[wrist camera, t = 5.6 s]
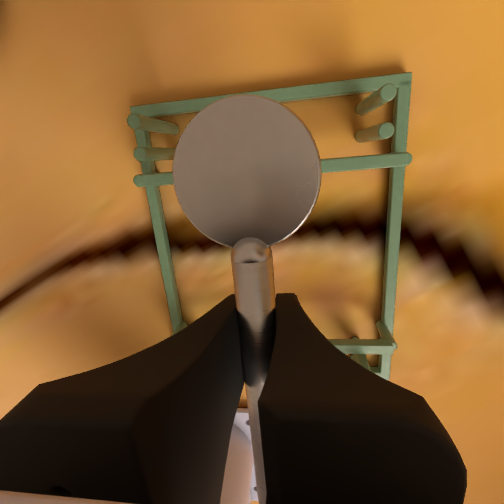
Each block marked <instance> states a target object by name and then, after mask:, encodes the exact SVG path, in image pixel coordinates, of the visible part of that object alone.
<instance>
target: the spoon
mask: <svg viewBox="0 0 504 504" xmlns="http://www.w3.org/2000/svg"><path fill="white" fill-rule="evenodd" d="M173 183H174V188H175V192H176V196H177V198H178V201H179V204H180V206H181V208H182V210H183V211H184V213H185V215H186V216H187V218H188V219H189V220H190V222H191V223H192V224H193V225H194V226H195V227H196V228H197V229H198V230H199V231H200V232H201V233H203V234H204V235H205V236H207V237H208V238H210V239H211V240H213V241H215V242H217V243H219V244H222V245H224V246H227V247H231V248H233V249H232V252H231V262H232V271H233V280H234V289H235V298H236V307H237V316H238V325H239V334H240V343H241V352H242V361H243V370H244V379H245V387H246V396H247V405H248V414H249V423H250V432H251V441H252V450H253V459H254V468H255V477H256V486H257V495H258V501H259V504H266V494H267V492H266V482H265V472H264V462H263V453H262V443H261V433H260V423H259V413H258V403H257V401H258V399H259V397H260V394H261V391H262V389H263V386H264V383H265V380H266V377H267V373H268V370H269V366H270V362H271V358H272V353H273V348H274V343H275V337H276V310H275V306H276V303H275V288H274V272H273V257H272V250H271V248H270V246H272V245H275V244H277V243H279V242H281V241H283V240H285V239H287V238H288V237H289V236H291V235H292V234H294V233H295V232H296V231H297V230H298V229H299V228H300V227H301V226H302V225H303V223H304V222H305V221H306V220H307V218H308V217H309V215H310V214H311V212H312V210H313V208H314V206H315V204H316V201H317V198H318V195H319V191H320V185H321V161H320V156H319V151H318V149H317V146H316V143H315V140H314V139H313V137H312V135H311V133H310V131H309V130H308V128H307V127H306V125H305V124H304V122H303V121H302V120H301V119H300V118H299V117H298V116H297V115H296V114H295V113H294V112H292V111H291V110H290V109H289V108H287V107H286V106H284V105H282V104H281V103H279V102H277V101H274V100H272V99H270V98H266V97H262V96H258V95H249V94H246V95H234V96H229V97H225V98H223V99H220V100H217V101H215V102H213V103H211V104H209V105H208V106H206V107H205V108H204V109H202V110H201V111H200V112H198V113H197V114H196V115H195V116H194V117H193V118H192V120H191V121H190V122H189V123H188V125H187V126H186V127H185V129H184V131H183V133H182V134H181V136H180V139H179V141H178V143H177V146H176V150H175V154H174V160H173Z"/></svg>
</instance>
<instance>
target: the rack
mask: <svg viewBox="0 0 504 504" xmlns="http://www.w3.org/2000/svg"><path fill="white" fill-rule="evenodd" d="M411 80H412V72H407V73H399V74H391V75H383V76H374V77H366V78H358V79H350V80H342V81H334V82H326V83H318V84H309V85H301V86H293V87H285V88H277V89H269V90H261V91H253V92H244V93H236V94H228V95H220V96H212V97H204V98H196V99H187V100H179V101H171V102H163V103H155V104H147V105H139V106H131V107H130V110H131V114H130V115H129V116H128V118H127V123H128V125H129V126H130V127H131V128H132V129H134V131H135V136H136V141H137V146H138V147H137V148H136V149H135V150H134V157H135V158H136V159H137V160H138V161H140V162H141V167H142V172H143V174H140V175H136V176H135V177H134V179H133V181H134V184H135V185H136V186H137V187H145V188H146V193H147V198H148V203H149V208H150V214H151V219H152V224H153V229H154V234H155V239H156V245H157V250H158V255H159V260H160V265H161V270H162V276H163V281H164V286H165V291H166V296H167V302H168V307H169V312H170V317H171V322H172V327H173V334H172V335H174V334H176V333H178V332H179V331H181V330H182V329H184V328H185V327H187V326H188V324H187V322H185V321H183V319H182V314H181V308H180V303H179V297H178V291H177V286H176V280H175V275H174V269H173V264H172V258H171V252H170V247H169V241H168V236H167V230H166V224H165V219H164V213H163V208H162V202H161V197H160V191H159V185H172V184H174V183H173V172H164V173H158V172H156V169H155V163H154V161H158V160H174V154H175V150H176V148H159V147H152V146H151V141H150V135H149V131H150V132H157V133H164V134H171V135H176V134H178V133H179V127H178V125H177V124H175V123H171V122H167V121H163V120H159V119H154V117H163V116H172V115H180V114H189V113H198V112H200V111H201V110H202V109H204V108H205V107H206V106H208V105H209V104H211V103H213V102H215V101H217V100H220V99H223V98H225V97H229V96H234V95H246V94H249V95H258V96H262V97H266V98H270V99H272V100H274V101H277V102H279V103H284V102H293V101H302V100H310V99H319V98H328V97H336V96H345V95H354V94H362V93H371V92H374V93H373V94H371V95H370V96H369V97H367V98H366V99H365V100H363V101H362V102H360V103H359V104H358V105H357V107H356V113H357V114H358V115H365V114H366V113H368V112H370V111H372V110H374V109H376V108H378V107H379V106H381V105H383V104H385V103H387V102H389V101H391V100H392V99H393V98H394V106H393V123H390V122H384V123H381V124H378V125H375V126H372V127H369V128H366V129H363V130H360V131H358V132H357V133H356V135H355V139H356V141H357V142H359V143H362V142H369V141H376V140H383V139H388V138H390V137H391V136H392V140H391V152H389V153H387V154H377V155H365V156H353V157H341V158H330V159H320V161H321V173H327V172H340V171H352V170H365V169H378V168H390V175H389V192H388V209H387V226H386V243H385V260H384V277H383V295H382V312H381V321H378V322H377V323H376V328H377V330H378V332H379V334H380V339H359V338H358V337H353V338H352V339H328V340H329V341H330V342H331V343H332V344H333V345H334V346H335V347H336V348H337V349H339V350H340V351H341V352H343V353H344V354H352V355H351V356H350V358H351V359H352V360H354V361H355V362H357V363H358V364H360V365H361V366H363V367H365V368H366V369H368V370H370V371H371V372H373V373H375V374H377V375H378V376H380V377H382V378H384V379H386V380H389V379H390V365H391V355H392V354H393V351H394V350H396V348H397V344H396V342H395V340H394V338H393V324H394V311H395V297H396V284H397V270H398V256H399V243H400V229H401V216H402V202H403V189H404V175H405V166H407V165H409V164H410V163H411V161H412V155H411V154H410V153H408V152H406V148H407V134H408V121H409V107H410V94H411ZM172 335H171V336H172ZM365 354H379V363H378V367H369V364H368V361H367V358H366V355H365Z"/></svg>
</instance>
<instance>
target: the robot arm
mask: <svg viewBox="0 0 504 504" xmlns="http://www.w3.org/2000/svg"><path fill="white" fill-rule="evenodd" d="M275 303H276V306H275V310H276V337H275V343H274V348H273V353H272V358H271V362H270V366H269V370H268V373H267V377H266V380H265V383H264V386H263V389H262V391H261V394H260V397H259V399H258V401H257V403H258V413H259V423H260V433H261V443H262V453H263V462H264V472H265V482H266V492H267V494H266V504H463V502H464V497H465V492H466V487H467V470H466V467H465V465H464V463H463V460H462V458H461V456H460V453H459V452H458V450H457V448H456V446H455V444H454V443H453V441H452V439H451V437H450V435H449V434H448V432H447V431H446V429H445V428H444V426H443V425H442V423H441V422H440V420H439V419H438V417H437V416H436V415H435V413H434V412H433V411H432V409H431V408H430V406H429V405H428V404H427V402H426V401H425V399H424V398H423V397H422V396H420V395H418V394H416V393H414V392H411V391H409V390H407V389H405V388H403V387H401V386H398V385H396V384H394V383H392V382H390V381H388V380H386V379H384V378H382V377H380V376H378V375H377V374H375V373H373V372H371V371H370V370H368V369H366V368H365V367H363V366H361V365H360V364H358V363H357V362H355V361H354V360H352V359H351V358H350V357H348V356H347V355H345V354H344V353H343V352H341V351H340V350H339V349H337V348H336V347H335V346H334V345H333V344H332V343H331V342H330V341H329V340H328V339H327V338H326V337H325V336H324V335H323V334H322V333H321V332H320V331H319V330H318V329H317V327H316V326H315V325H314V324H313V323H312V321H311V320H310V319H309V317H308V316H307V314H306V313H305V312H304V310H303V308H302V307H301V305H300V303H299V301H298V299H297V296H296V295H295V294H294V293H277V295H276V298H275ZM244 382H245V379H244V370H243V361H242V352H241V343H240V334H239V325H238V316H237V307H236V298H235V294H231V295H230V296H228V297H227V298H225V299H224V300H223V301H221V302H220V303H219V304H217V305H216V306H215V307H214V308H212V309H211V310H210V311H208V312H207V313H206V314H204V315H203V316H202V317H200V318H199V319H197V320H196V321H194V322H193V323H191V324H190V325H188V326H187V327H185V328H184V329H182V330H181V331H179V332H178V333H176V334H174V335H172V336H171V337H169V338H167V339H165V340H163V341H161V342H159V343H158V344H156V345H153V346H151V347H149V348H147V349H145V350H142V351H140V352H138V353H136V354H133V355H131V356H129V357H126V358H124V359H121V360H118V361H116V362H113V363H111V364H108V365H105V366H102V367H99V368H96V369H93V370H90V371H86V372H83V373H80V374H76V375H72V376H69V377H65V378H61V379H58V380H54V381H50V382H46V383H42V384H39V385H38V386H37V387H35V388H34V389H33V390H32V391H31V392H30V393H29V394H28V395H27V396H26V397H25V398H24V399H22V400H21V401H20V402H19V403H18V404H17V405H16V406H15V407H14V408H13V409H12V410H11V411H10V412H8V413H7V414H6V415H5V416H4V417H3V418H2V419H1V420H0V504H251V500H252V501H258V495H257V486H256V477H255V468H254V459H253V450H252V441H251V432H250V423H249V421H248V420H249V414H248V408H237V407H238V404H239V400H240V396H241V393H242V389H243V386H244Z"/></svg>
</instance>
